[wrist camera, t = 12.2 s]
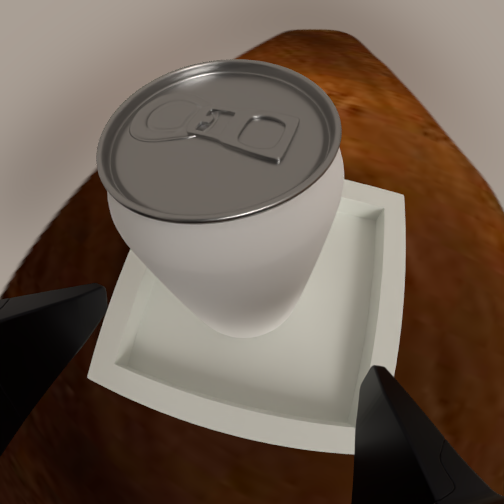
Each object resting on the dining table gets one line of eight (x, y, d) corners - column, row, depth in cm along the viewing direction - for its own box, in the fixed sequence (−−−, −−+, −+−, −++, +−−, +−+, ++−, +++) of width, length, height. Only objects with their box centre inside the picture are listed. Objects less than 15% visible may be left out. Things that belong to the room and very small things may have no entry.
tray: (359, 445, 13) (374, 455, 11) (107, 379, 15) (87, 377, 13) (391, 214, 19) (403, 195, 17) (184, 173, 21) (177, 151, 19)
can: (217, 222, 18) (173, 48, 7) (313, 254, 17) (372, 80, 6) (172, 313, 16) (35, 194, 5) (277, 356, 15) (319, 305, 4)
